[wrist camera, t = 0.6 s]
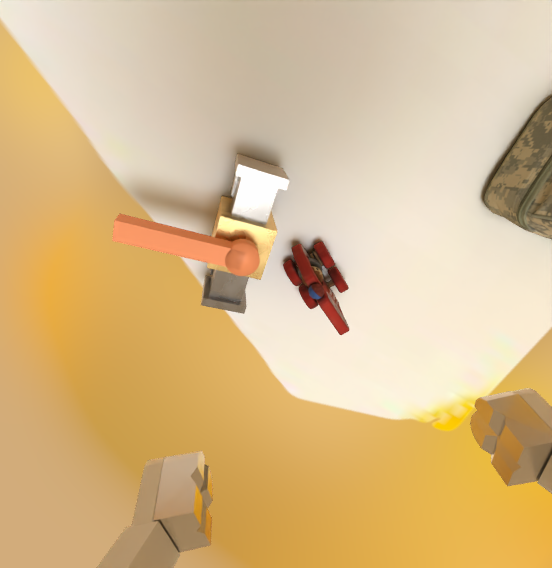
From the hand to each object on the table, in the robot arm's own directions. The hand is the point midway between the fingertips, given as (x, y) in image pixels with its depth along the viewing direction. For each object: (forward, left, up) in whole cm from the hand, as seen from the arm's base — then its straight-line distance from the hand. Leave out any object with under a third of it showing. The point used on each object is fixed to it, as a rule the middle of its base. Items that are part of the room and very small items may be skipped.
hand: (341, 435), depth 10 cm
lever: (+10, -5, -31) cm, 33 cm away
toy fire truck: (+14, +14, -41) cm, 45 cm away
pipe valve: (+10, +1, -40) cm, 41 cm away
